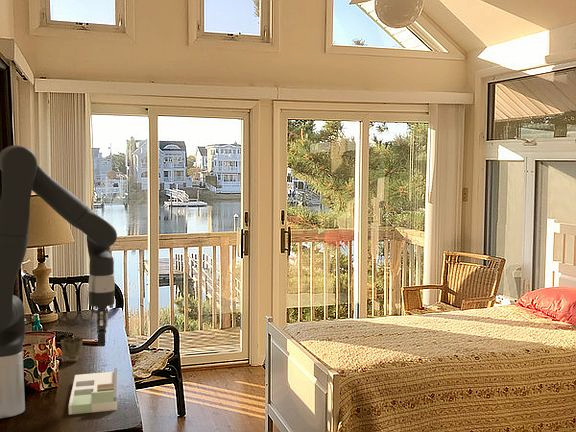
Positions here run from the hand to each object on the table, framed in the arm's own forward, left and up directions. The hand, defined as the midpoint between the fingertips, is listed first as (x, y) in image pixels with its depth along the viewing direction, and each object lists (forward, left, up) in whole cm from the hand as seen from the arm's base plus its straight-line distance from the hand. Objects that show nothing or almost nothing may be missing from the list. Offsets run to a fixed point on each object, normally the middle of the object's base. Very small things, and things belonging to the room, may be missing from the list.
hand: (101, 345), depth 194 cm
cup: (+18, +36, -15) cm, 44 cm away
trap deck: (-1, +1, -15) cm, 15 cm away
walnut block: (-5, -7, -13) cm, 16 cm away
